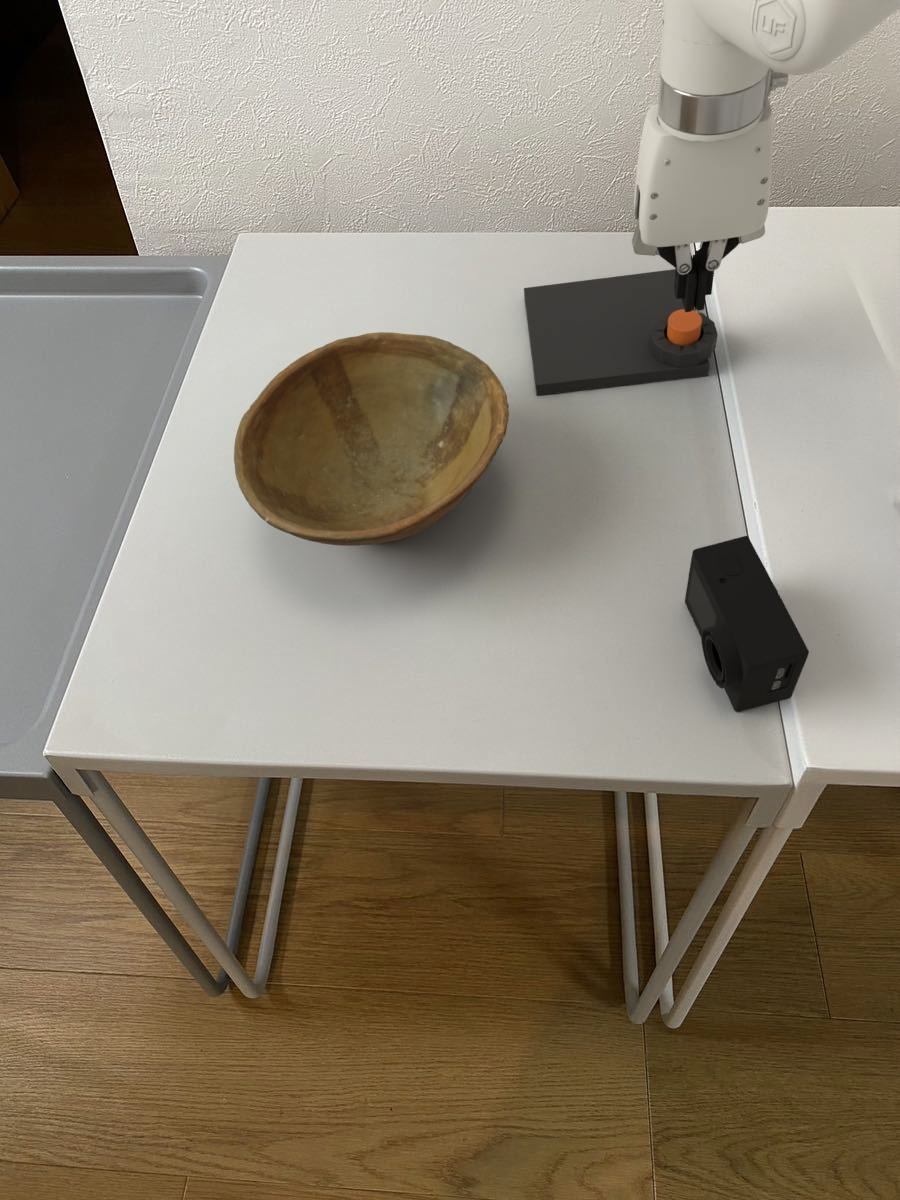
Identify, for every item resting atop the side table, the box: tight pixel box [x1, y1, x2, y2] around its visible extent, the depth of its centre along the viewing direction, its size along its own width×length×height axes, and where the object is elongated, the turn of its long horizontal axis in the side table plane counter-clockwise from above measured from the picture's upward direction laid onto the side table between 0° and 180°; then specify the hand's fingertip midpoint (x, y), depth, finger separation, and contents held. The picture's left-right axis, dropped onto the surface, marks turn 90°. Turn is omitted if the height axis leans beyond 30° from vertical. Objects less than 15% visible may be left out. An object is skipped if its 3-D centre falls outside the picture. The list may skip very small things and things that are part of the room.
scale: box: [523, 268, 719, 396], centre depth 90 cm, size 17×14×3 cm
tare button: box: [667, 309, 702, 346], centre depth 85 cm, size 3×3×2 cm
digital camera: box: [684, 535, 810, 713], centre depth 68 cm, size 10×5×7 cm, turn 13°
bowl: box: [233, 331, 510, 547], centre depth 79 cm, size 22×23×10 cm
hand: (691, 300), depth 82 cm, fingers closed
